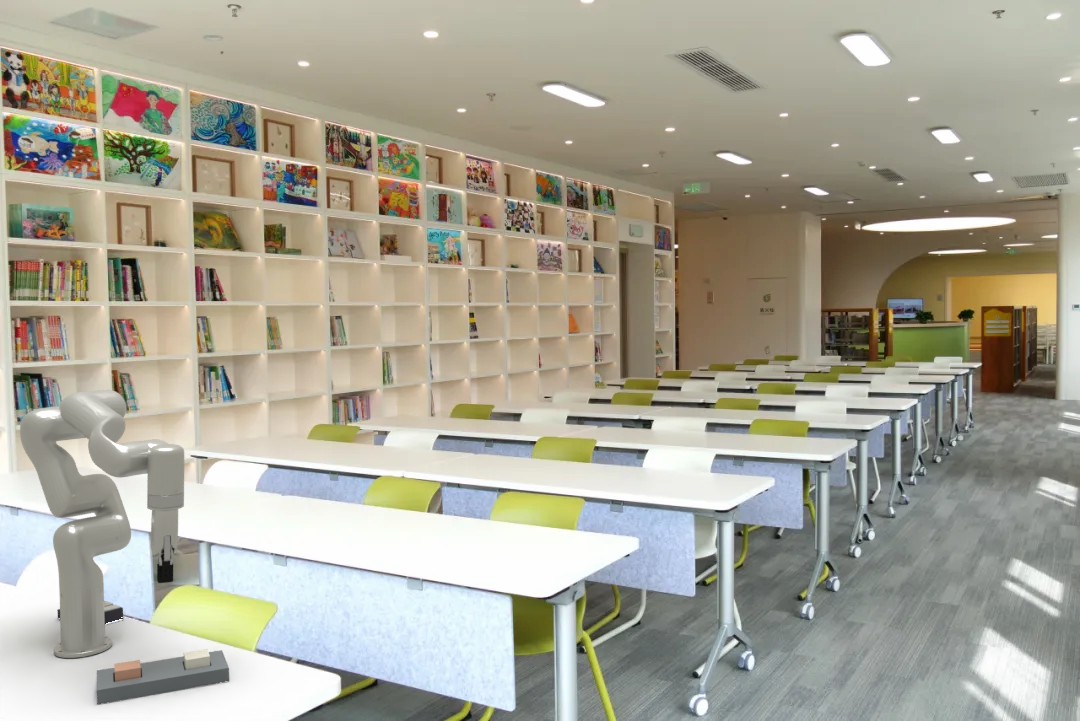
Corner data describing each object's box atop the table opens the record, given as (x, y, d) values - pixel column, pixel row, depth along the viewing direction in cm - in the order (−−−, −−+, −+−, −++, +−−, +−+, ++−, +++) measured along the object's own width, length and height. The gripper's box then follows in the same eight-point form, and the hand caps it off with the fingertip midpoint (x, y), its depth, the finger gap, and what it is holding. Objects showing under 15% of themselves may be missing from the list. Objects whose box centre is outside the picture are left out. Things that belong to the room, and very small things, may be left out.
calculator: (98, 596, 246) (123, 604, 236) (99, 612, 246) (124, 620, 236) (56, 606, 237) (80, 615, 228) (57, 622, 237) (81, 631, 228)
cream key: (184, 670, 198) (183, 652, 198) (207, 666, 201) (207, 648, 200) (186, 678, 194) (185, 660, 194) (210, 673, 196) (209, 656, 196)
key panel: (97, 683, 194) (96, 670, 194) (222, 662, 205) (222, 650, 205) (96, 704, 183) (96, 690, 183) (229, 681, 195) (228, 667, 194)
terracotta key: (114, 681, 192) (114, 663, 192) (140, 677, 194) (139, 659, 194) (115, 690, 188) (114, 671, 187) (141, 685, 190) (140, 667, 190)
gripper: (145, 494, 201) (144, 573, 202) (149, 509, 188) (149, 593, 189) (180, 492, 205) (179, 570, 206) (187, 506, 191) (186, 589, 193)
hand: (165, 581), depth 198 cm, fingers closed
